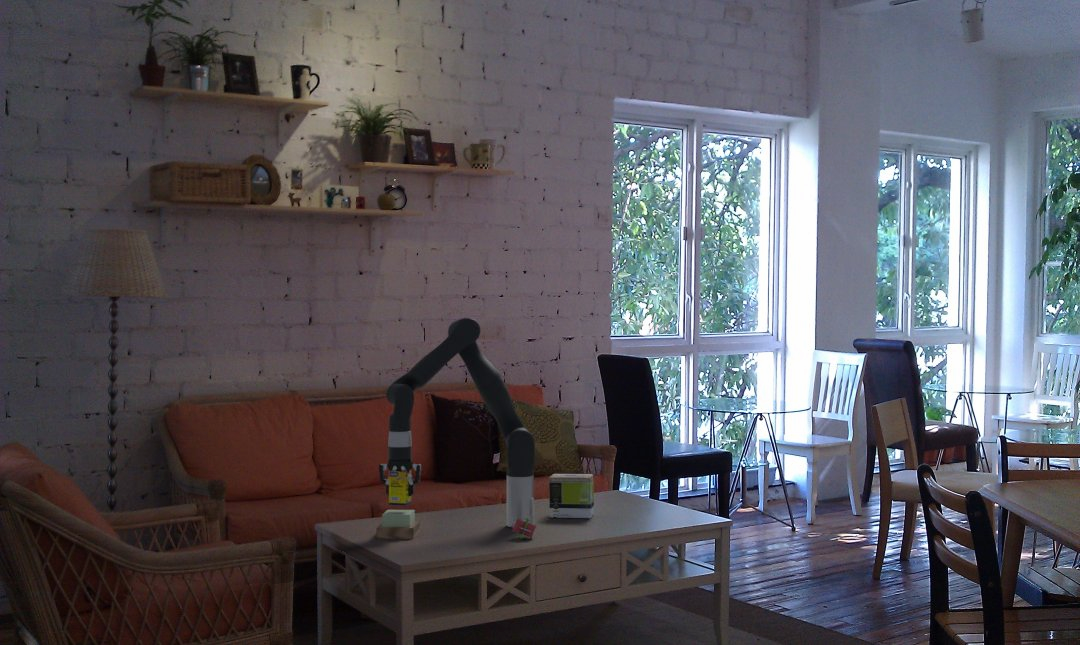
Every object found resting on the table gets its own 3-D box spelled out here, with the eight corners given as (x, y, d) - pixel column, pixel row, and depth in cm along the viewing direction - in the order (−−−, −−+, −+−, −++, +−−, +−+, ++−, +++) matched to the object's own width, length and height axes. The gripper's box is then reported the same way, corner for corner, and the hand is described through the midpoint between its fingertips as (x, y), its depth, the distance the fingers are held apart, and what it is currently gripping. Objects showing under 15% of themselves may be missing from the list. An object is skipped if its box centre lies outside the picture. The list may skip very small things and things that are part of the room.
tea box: (594, 514, 391) (594, 473, 391) (590, 519, 381) (590, 477, 381) (553, 513, 394) (553, 472, 394) (548, 518, 384) (548, 476, 384)
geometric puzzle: (538, 529, 352) (524, 509, 351) (542, 533, 345) (527, 513, 344) (521, 543, 351) (506, 523, 350) (524, 547, 344) (509, 527, 343)
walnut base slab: (419, 533, 359) (419, 521, 359) (413, 540, 347) (413, 528, 347) (384, 532, 359) (384, 520, 359) (376, 540, 347) (376, 527, 347)
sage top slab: (414, 522, 357) (414, 510, 357) (409, 527, 348) (409, 514, 348) (387, 521, 358) (387, 509, 358) (382, 526, 349) (382, 514, 349)
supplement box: (406, 505, 349) (406, 472, 349) (388, 505, 351) (388, 471, 351) (411, 502, 355) (411, 469, 355) (394, 502, 356) (394, 469, 356)
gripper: (423, 443, 356) (423, 494, 356) (380, 443, 357) (380, 494, 357) (419, 446, 349) (419, 498, 349) (375, 446, 350) (375, 497, 350)
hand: (400, 495), depth 353 cm, fingers closed on supplement box, 6 cm apart
